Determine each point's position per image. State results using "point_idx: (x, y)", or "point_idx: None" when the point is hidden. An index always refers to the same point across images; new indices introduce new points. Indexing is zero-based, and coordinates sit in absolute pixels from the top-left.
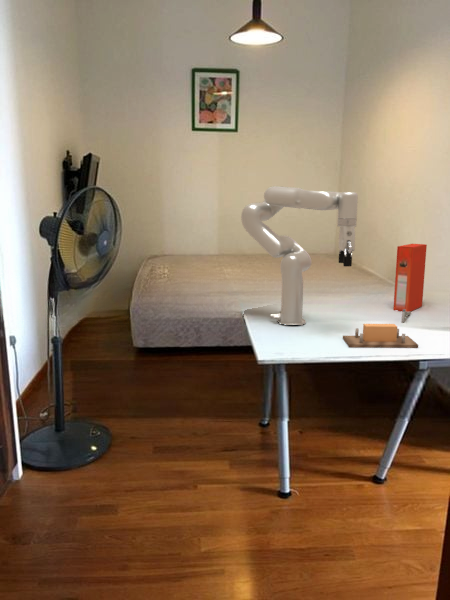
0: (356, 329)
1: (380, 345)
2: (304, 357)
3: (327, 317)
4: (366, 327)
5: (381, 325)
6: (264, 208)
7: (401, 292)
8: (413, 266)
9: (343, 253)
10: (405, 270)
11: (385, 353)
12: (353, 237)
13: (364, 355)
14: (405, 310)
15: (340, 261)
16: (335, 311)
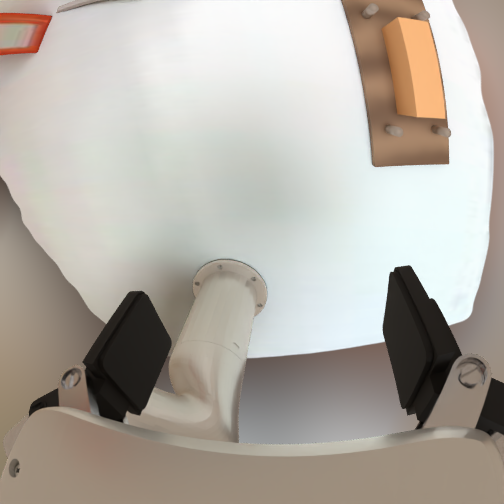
0: (402, 134)
1: (442, 83)
2: (483, 260)
3: (139, 201)
4: (443, 116)
5: (428, 64)
6: None
7: (6, 36)
8: None
9: (113, 390)
10: None
11: (473, 88)
12: None
13: (487, 141)
14: None
15: (163, 343)
16: (76, 184)
